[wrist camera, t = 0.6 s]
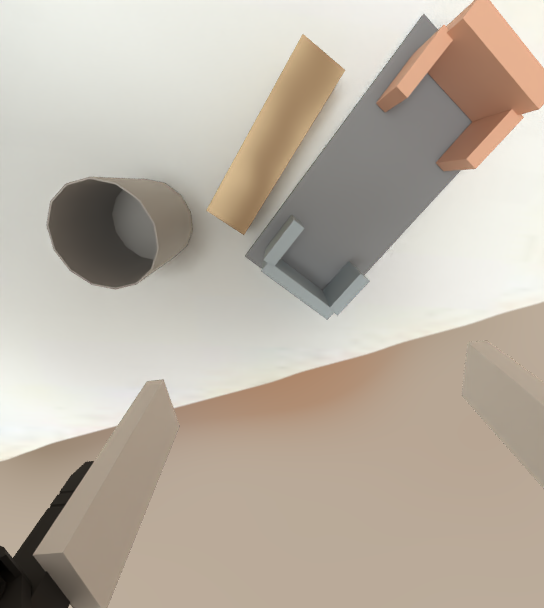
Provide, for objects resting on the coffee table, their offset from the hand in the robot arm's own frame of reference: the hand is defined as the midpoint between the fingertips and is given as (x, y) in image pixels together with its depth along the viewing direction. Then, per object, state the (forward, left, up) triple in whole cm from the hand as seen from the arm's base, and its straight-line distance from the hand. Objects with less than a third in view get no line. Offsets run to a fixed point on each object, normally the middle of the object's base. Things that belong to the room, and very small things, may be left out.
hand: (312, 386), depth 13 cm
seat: (+1, +11, -22) cm, 24 cm away
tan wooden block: (-9, +8, -22) cm, 25 cm away
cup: (-15, -5, -22) cm, 27 cm away
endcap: (+1, +20, -21) cm, 29 cm away
